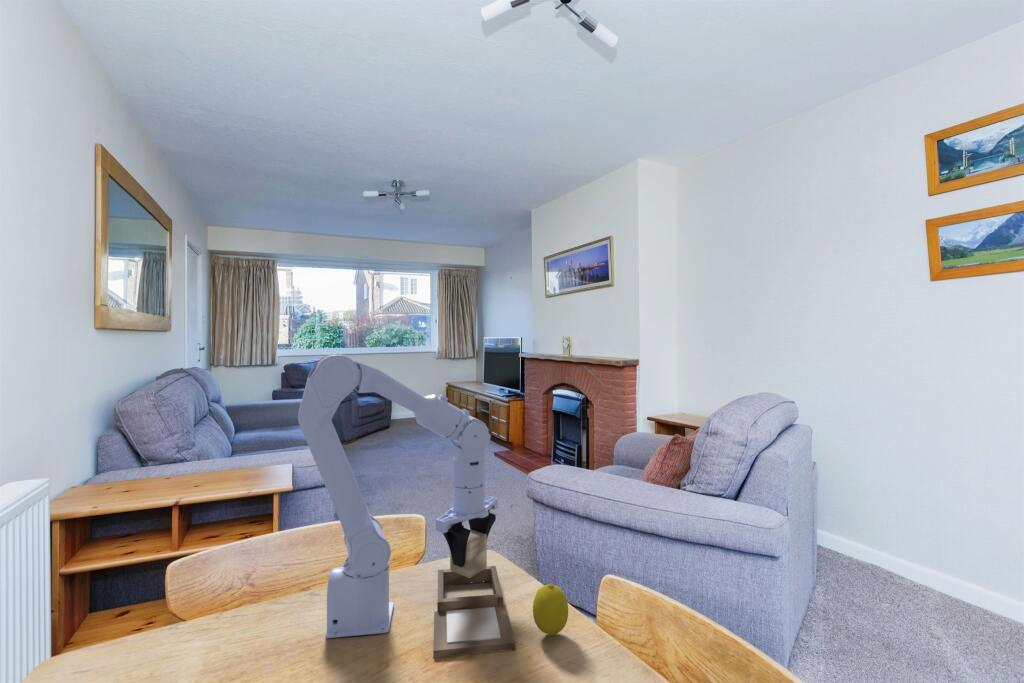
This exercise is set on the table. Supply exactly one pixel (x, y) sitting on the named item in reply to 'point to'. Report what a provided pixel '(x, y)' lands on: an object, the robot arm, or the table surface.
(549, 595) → the lemon
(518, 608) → the table surface
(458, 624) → the brown divided tray
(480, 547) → the block
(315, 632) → the table surface
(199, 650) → the table surface
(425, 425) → the robot arm
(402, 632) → the table surface
